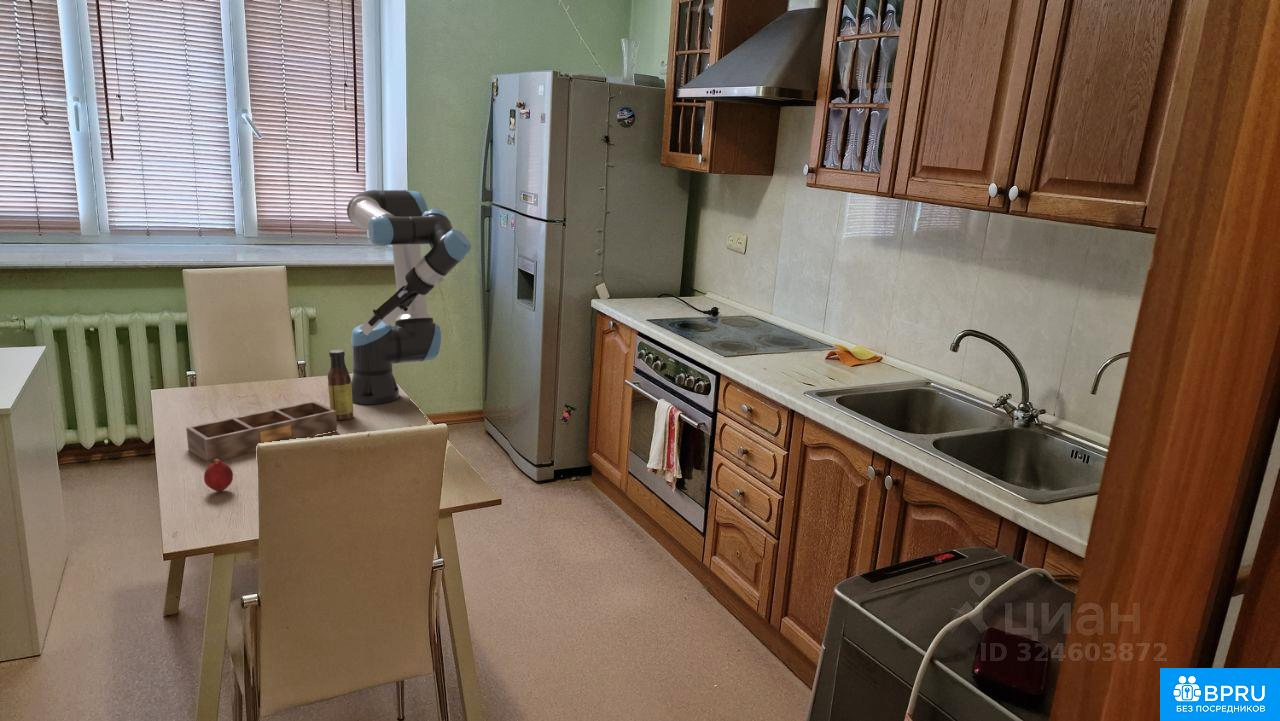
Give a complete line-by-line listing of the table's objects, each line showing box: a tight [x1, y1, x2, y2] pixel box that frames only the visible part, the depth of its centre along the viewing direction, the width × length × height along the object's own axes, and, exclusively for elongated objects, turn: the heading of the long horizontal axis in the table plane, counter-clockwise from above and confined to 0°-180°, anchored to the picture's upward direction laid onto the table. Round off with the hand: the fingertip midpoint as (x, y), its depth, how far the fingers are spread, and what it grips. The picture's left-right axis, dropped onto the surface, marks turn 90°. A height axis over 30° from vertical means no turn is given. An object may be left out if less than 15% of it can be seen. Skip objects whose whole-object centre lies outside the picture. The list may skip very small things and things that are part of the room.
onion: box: [203, 459, 234, 493], centre depth 185 cm, size 6×6×8 cm
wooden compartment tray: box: [185, 400, 338, 464], centre depth 217 cm, size 34×12×6 cm, turn 139°
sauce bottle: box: [327, 349, 354, 421], centre depth 236 cm, size 6×6×20 cm
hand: (374, 326), depth 230 cm, fingers open, 13 cm apart
